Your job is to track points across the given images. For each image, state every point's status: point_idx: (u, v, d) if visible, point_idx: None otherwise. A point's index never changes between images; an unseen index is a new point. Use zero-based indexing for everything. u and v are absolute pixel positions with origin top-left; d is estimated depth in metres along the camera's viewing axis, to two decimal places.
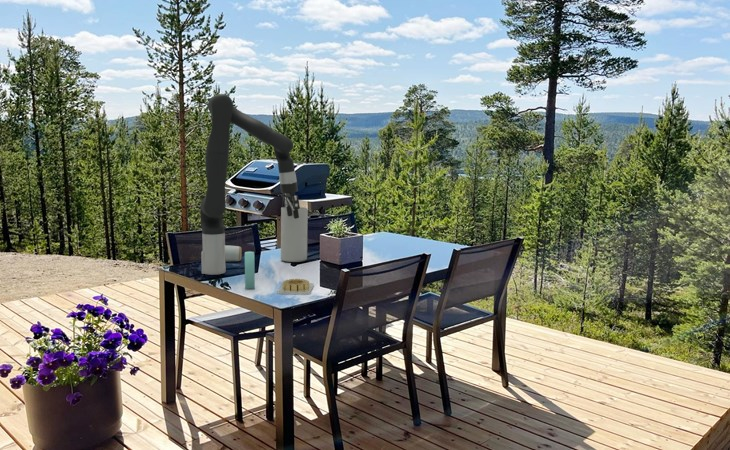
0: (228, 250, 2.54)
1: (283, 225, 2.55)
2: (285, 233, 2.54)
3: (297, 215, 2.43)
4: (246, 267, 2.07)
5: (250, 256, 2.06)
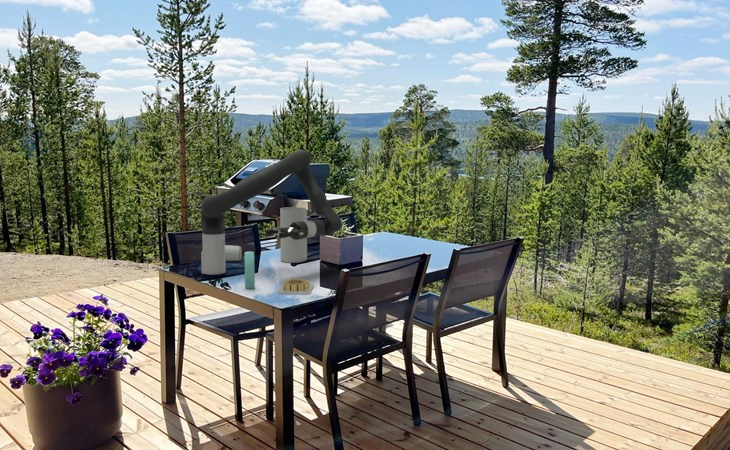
0: (228, 250, 2.54)
1: (282, 226, 2.54)
2: None
3: (283, 236, 2.13)
4: (246, 267, 2.07)
5: (250, 256, 2.06)
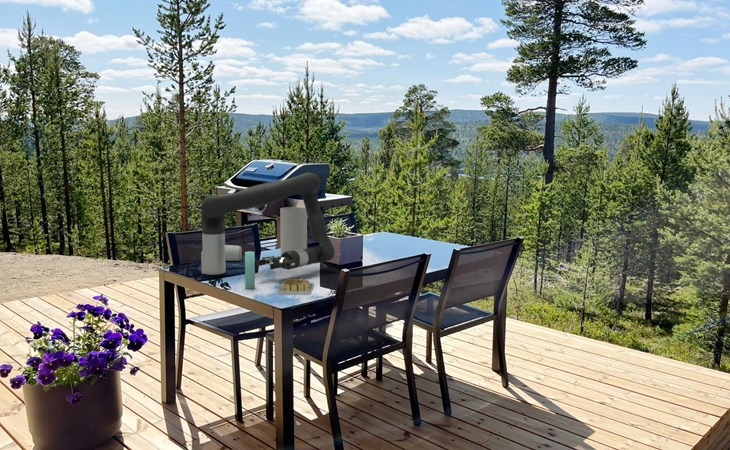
0: (228, 250, 2.55)
1: (282, 226, 2.54)
2: (285, 234, 2.54)
3: (274, 267, 2.12)
4: (246, 267, 2.07)
5: (250, 256, 2.06)
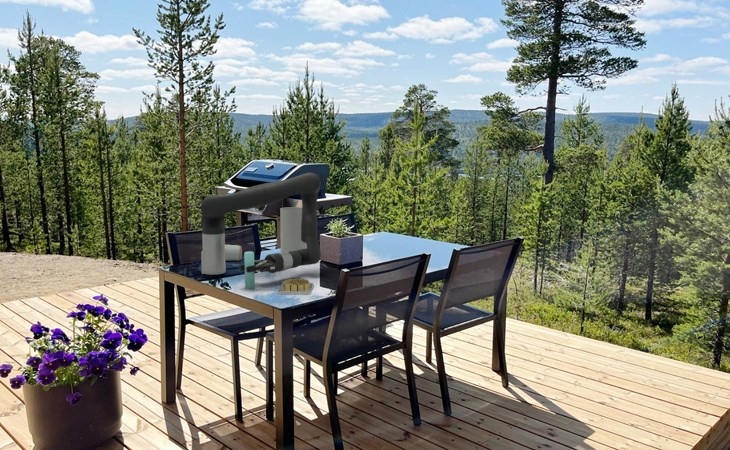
0: (228, 249, 2.55)
1: (282, 226, 2.54)
2: (285, 234, 2.54)
3: (251, 270, 2.06)
4: None
5: (249, 256, 2.06)
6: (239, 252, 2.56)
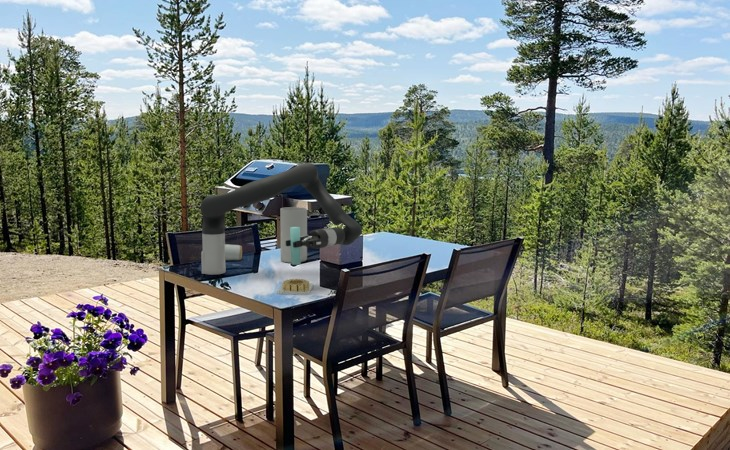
0: (229, 249, 2.56)
1: (282, 226, 2.54)
2: (285, 234, 2.54)
3: (297, 245, 2.03)
4: (292, 242, 2.05)
5: (296, 231, 2.04)
6: (239, 252, 2.57)
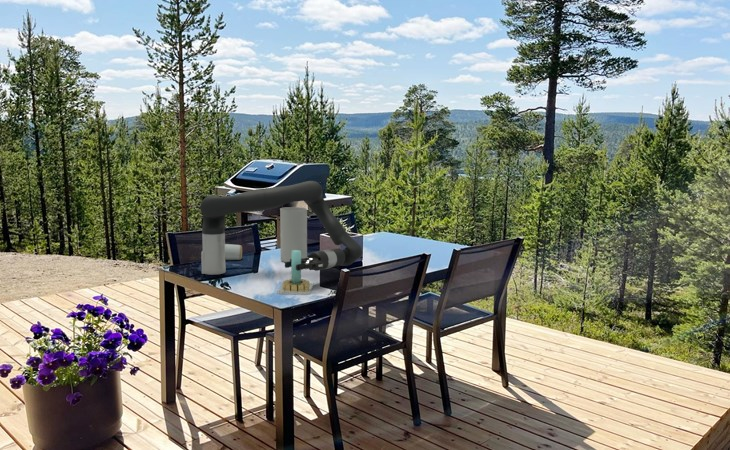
0: (229, 249, 2.57)
1: (282, 226, 2.54)
2: (285, 234, 2.54)
3: (300, 268, 2.04)
4: (293, 266, 2.06)
5: (297, 254, 2.05)
6: (239, 251, 2.57)
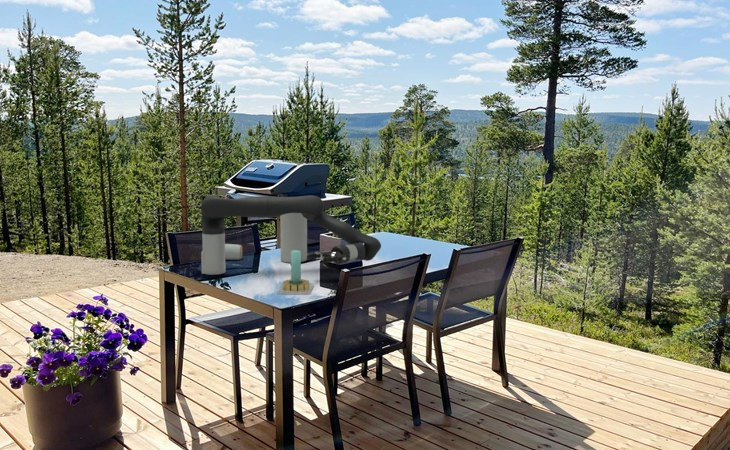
0: (229, 248, 2.57)
1: (282, 226, 2.54)
2: (285, 234, 2.54)
3: (327, 261, 2.13)
4: (293, 266, 2.06)
5: (297, 255, 2.05)
6: (239, 251, 2.58)
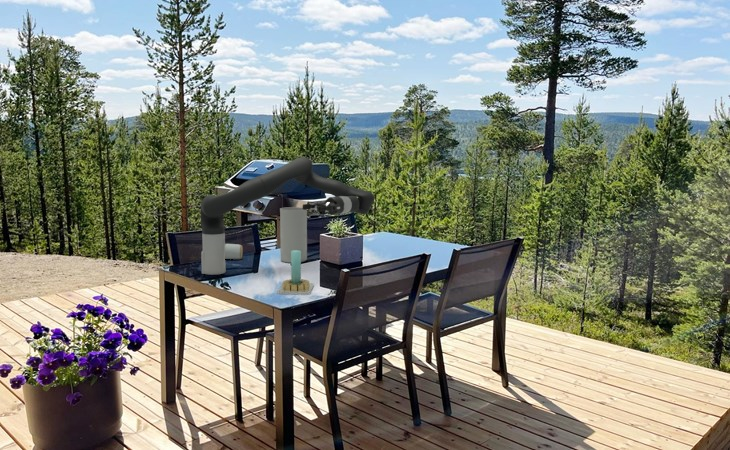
0: (229, 248, 2.58)
1: (282, 226, 2.54)
2: (284, 234, 2.54)
3: (321, 209, 2.15)
4: (293, 266, 2.06)
5: (297, 254, 2.05)
6: (240, 251, 2.59)
